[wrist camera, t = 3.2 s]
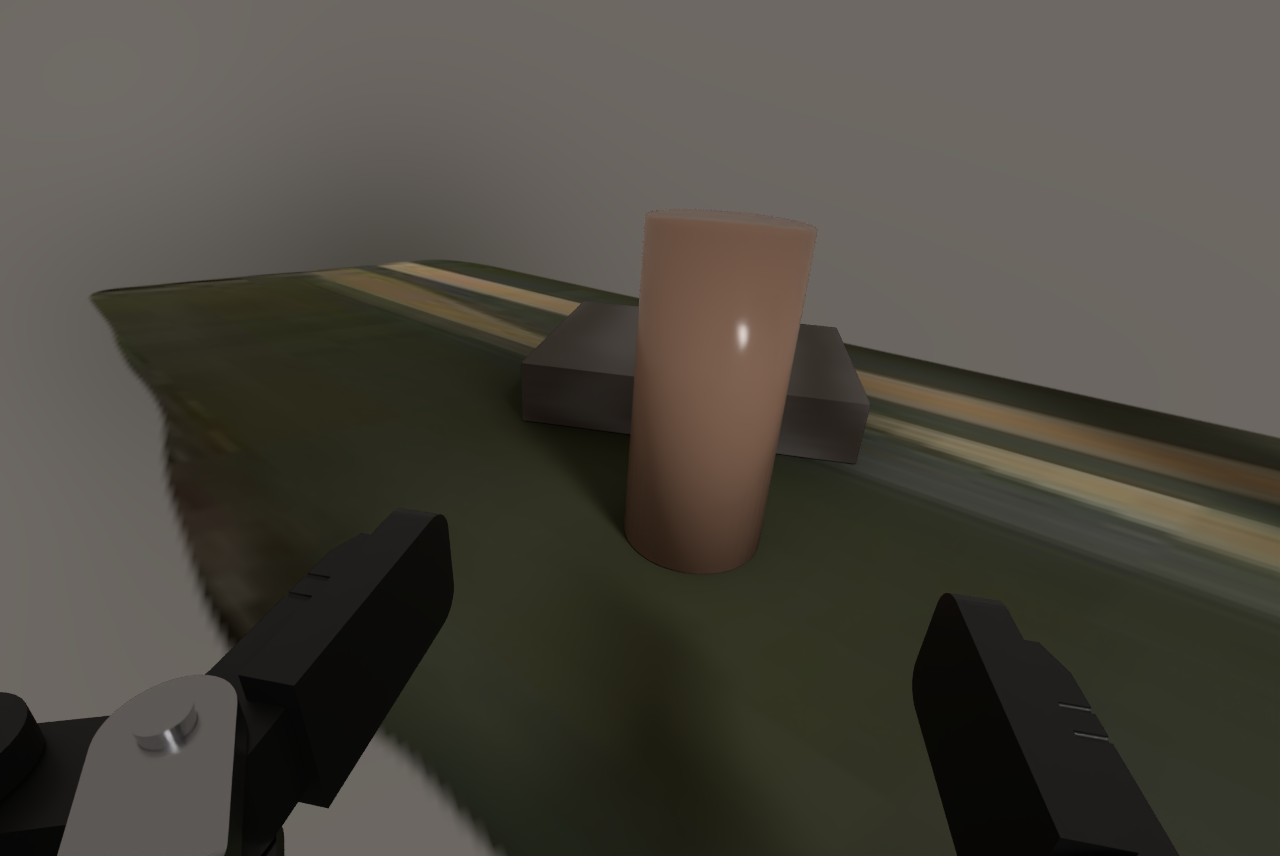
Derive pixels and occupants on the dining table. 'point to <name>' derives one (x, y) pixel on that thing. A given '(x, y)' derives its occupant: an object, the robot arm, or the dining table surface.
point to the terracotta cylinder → (711, 381)
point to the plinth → (604, 381)
